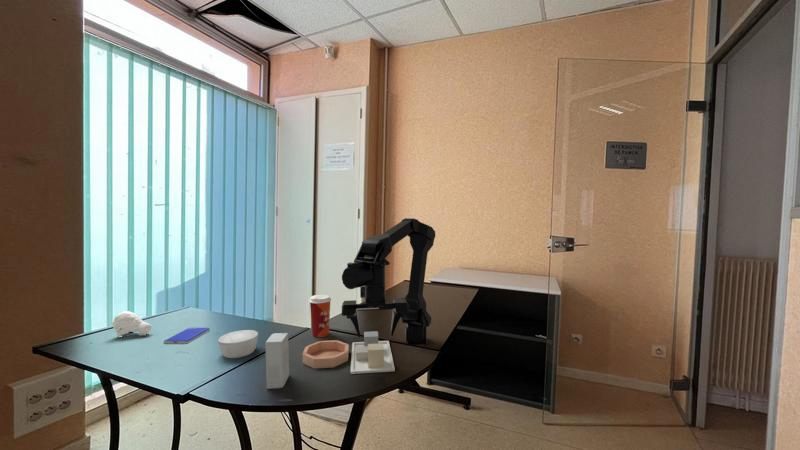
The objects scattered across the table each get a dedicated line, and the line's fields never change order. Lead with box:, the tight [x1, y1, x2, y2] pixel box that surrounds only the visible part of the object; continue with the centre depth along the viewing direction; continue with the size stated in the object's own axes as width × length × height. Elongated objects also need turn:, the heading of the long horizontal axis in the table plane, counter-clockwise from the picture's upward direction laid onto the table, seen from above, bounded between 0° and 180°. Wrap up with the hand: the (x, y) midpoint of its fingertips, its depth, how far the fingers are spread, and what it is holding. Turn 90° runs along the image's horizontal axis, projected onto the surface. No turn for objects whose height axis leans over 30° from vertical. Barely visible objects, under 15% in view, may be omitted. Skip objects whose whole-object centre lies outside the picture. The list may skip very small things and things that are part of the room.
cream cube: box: [368, 343, 384, 368], centre depth 94 cm, size 4×4×5 cm
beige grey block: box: [356, 346, 368, 361], centre depth 99 cm, size 4×5×2 cm
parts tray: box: [350, 340, 395, 375], centre depth 99 cm, size 12×20×1 cm, turn 7°
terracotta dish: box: [302, 339, 350, 369], centre depth 98 cm, size 13×13×3 cm
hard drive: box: [163, 327, 211, 345], centre depth 117 cm, size 2×8×12 cm
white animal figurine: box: [111, 310, 152, 337], centre depth 118 cm, size 6×8×12 cm
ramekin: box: [217, 329, 259, 359], centre depth 104 cm, size 11×11×5 cm
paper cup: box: [308, 294, 332, 338], centre depth 117 cm, size 8×8×14 cm
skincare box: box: [264, 332, 290, 390], centre depth 85 cm, size 6×4×12 cm
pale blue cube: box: [363, 330, 379, 346], centre depth 104 cm, size 4×4×5 cm
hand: (375, 336), depth 94 cm, fingers open, 9 cm apart
